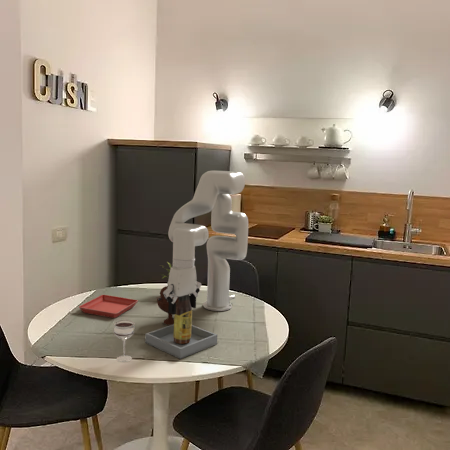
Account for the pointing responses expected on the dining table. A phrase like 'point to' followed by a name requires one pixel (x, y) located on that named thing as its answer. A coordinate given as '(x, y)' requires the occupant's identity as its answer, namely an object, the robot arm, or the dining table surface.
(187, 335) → the sauce bottle
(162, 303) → the ice cream bowl
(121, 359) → the wineglass
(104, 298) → the red square tray
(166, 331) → the parts tray
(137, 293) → the dining table surface
